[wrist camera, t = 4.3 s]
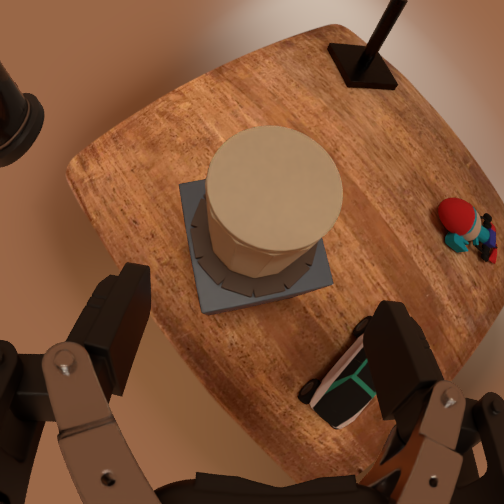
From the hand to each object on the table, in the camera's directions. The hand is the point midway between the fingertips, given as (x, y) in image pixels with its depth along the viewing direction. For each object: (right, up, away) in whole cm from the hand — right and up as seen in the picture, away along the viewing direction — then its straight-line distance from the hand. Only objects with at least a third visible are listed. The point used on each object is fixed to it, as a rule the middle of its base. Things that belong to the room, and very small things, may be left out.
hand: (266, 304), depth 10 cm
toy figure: (+30, +5, +27) cm, 40 cm away
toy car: (+10, -11, +21) cm, 26 cm away
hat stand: (+17, +31, +31) cm, 47 cm away
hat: (0, +3, +10) cm, 11 cm away
